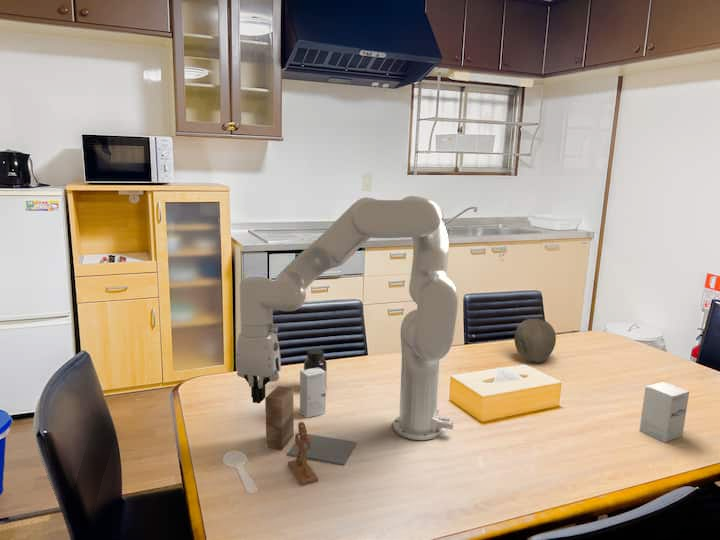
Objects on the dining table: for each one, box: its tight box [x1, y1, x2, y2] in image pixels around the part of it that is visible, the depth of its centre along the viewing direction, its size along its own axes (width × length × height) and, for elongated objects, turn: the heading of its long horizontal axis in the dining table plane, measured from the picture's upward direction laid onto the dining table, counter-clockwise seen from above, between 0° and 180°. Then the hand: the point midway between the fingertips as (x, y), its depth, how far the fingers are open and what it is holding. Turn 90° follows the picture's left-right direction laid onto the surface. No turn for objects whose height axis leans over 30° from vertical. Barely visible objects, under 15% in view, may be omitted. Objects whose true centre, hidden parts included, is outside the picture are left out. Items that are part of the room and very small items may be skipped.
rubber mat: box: [286, 433, 357, 466], centre depth 125 cm, size 14×10×1 cm
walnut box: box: [264, 385, 295, 451], centre depth 127 cm, size 4×7×13 cm, turn 164°
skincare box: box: [299, 367, 327, 419], centre depth 143 cm, size 6×4×12 cm
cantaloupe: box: [514, 318, 557, 363], centre depth 185 cm, size 14×14×15 cm
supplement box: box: [639, 381, 690, 443], centre depth 135 cm, size 7×7×13 cm
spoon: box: [222, 450, 259, 494], centre depth 116 cm, size 5×18×1 cm, turn 29°
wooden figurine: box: [287, 421, 319, 487], centre depth 114 cm, size 9×4×12 cm, turn 27°
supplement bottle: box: [303, 348, 328, 373], centre depth 158 cm, size 7×7×12 cm
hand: (258, 400), depth 128 cm, fingers closed
